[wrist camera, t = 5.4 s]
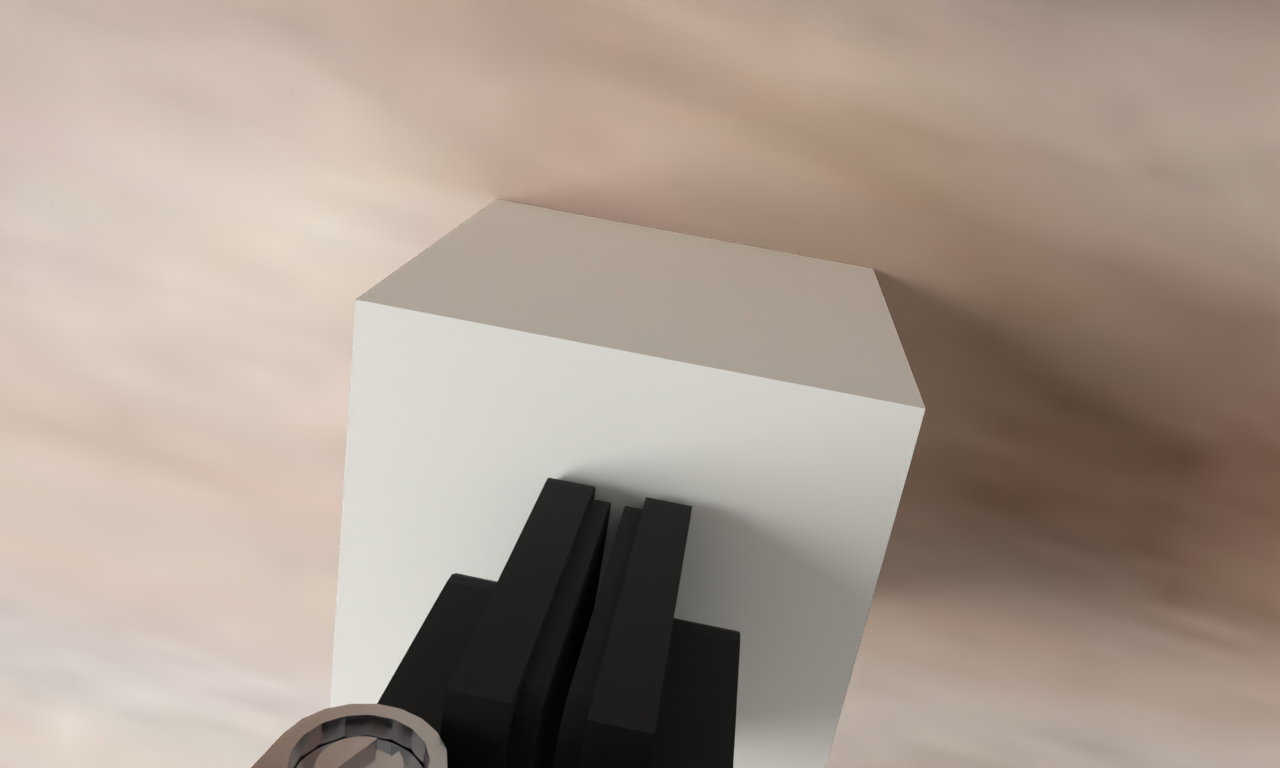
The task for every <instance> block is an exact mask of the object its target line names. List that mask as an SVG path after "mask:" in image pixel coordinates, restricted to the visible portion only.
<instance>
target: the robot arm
mask: <svg viewBox="0 0 1280 768" xmlns="http://www.w3.org/2000/svg"><path fill="white" fill-rule="evenodd" d="M594 498H595V487H594V486H589V485H584V484H579V483H574V482H569V481H563V480H558V479H553V478H548V479H547V480H546V482H545V484H544V486H543V489H542V491H541V493H540V495H539V497H538V499H537V501H536V503H535V505H534V507H533V509H532V511H531V513H530V515H529V517H528V519H527V522H526V524H525V526H524V528H523V530H522V532H521V534H520V536H519V538H518V540H517V542H516V544H515V546H514V548H513V550H512V553H511V555H510V557H509V559H508V561H507V563H506V565H505V567H504V569H503V571H502V573H501V575H500V577H499V579H498V581H492V580H487V579H482V578H477V577H473V576H468V575H463V574H458V573H455V574H452V575H451V577H450V578H449V579H448V581H447V582H446V584H445V586H444V587H443V589H442V591H441V593H440V594H439V596H438V598H437V600H436V601H435V603H434V605H433V607H432V608H431V610H430V612H429V614H428V615H427V617H426V619H425V621H424V622H423V624H422V626H421V628H420V629H419V631H418V633H417V635H416V636H415V638H414V640H413V642H412V643H411V645H410V647H409V649H408V650H407V652H406V654H405V656H404V657H403V659H402V661H401V663H400V664H399V666H398V668H397V670H396V671H395V673H394V675H393V677H392V678H391V680H390V682H389V684H388V685H387V687H386V689H385V691H384V692H383V694H382V696H381V698H380V699H379V701H378V703H377V704H347V705H342V706H337V707H332V708H328V709H324V710H322V711H319V712H317V713H315V714H313V715H310V716H308V717H306V718H303V719H301V720H300V721H299V722H298V723H296V724H295V725H294V726H292V727H291V728H290V729H289V730H287V731H286V732H285V733H284V734H283V735H282V736H281V737H280V738H279V739H278V740H277V741H276V742H275V743H274V744H273V745H272V746H271V747H270V748H269V749H268V750H267V751H266V753H265V754H264V755H263V756H262V757H261V758H260V759H259V760H258V761H257V762H256V763H255V764H254V765H253V766H252V767H251V768H733V762H734V744H735V726H736V709H737V691H738V673H739V655H740V632H739V631H735V630H730V629H725V628H720V627H715V626H710V625H705V624H701V623H696V622H691V621H686V620H681V619H676V618H674V614H675V608H676V602H677V596H678V590H679V584H680V578H681V572H682V566H683V560H684V554H685V548H686V542H687V536H688V530H689V524H690V518H691V512H692V506H689V505H684V504H679V503H674V502H669V501H664V500H659V499H654V498H648V497H646V498H645V502H644V506H643V509H640V508H635V507H630V506H625V507H624V510H623V514H622V517H621V520H620V523H619V527H618V530H617V533H616V537H615V540H614V543H613V547H612V550H611V553H610V557H609V560H608V563H607V567H606V570H605V573H604V576H603V580H602V583H601V586H600V590H599V593H598V596H597V600H596V594H597V588H598V582H599V576H600V570H601V564H602V558H603V552H604V546H605V540H606V534H607V528H608V522H609V516H610V509H611V503H610V502H605V501H600V500H595V499H594ZM595 600H596V603H595Z"/></svg>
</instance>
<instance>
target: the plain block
mask: <svg viewBox="0 0 1280 768" xmlns="http://www.w3.org/2000/svg"><path fill="white" fill-rule="evenodd" d="M925 409H926V408H925V406H924V403H923V400H922V398H921V395H920V392H919V390H918V387H917V384H916V382H915V379H914V376H913V374H912V371H911V368H910V366H909V363H908V360H907V358H906V355H905V352H904V350H903V347H902V344H901V342H900V339H899V336H898V334H897V331H896V328H895V326H894V323H893V320H892V318H891V315H890V312H889V310H888V307H887V304H886V302H885V299H884V296H883V294H882V291H881V288H880V286H879V283H878V280H877V278H876V275H875V272H874V270H873V269H872V268H867V267H861V266H856V265H851V264H845V263H840V262H834V261H829V260H823V259H818V258H813V257H807V256H802V255H796V254H791V253H786V252H780V251H775V250H769V249H764V248H759V247H753V246H748V245H742V244H737V243H731V242H726V241H721V240H715V239H710V238H704V237H699V236H694V235H688V234H683V233H677V232H672V231H666V230H661V229H656V228H650V227H645V226H639V225H634V224H629V223H623V222H618V221H612V220H607V219H602V218H596V217H591V216H585V215H580V214H574V213H569V212H564V211H558V210H553V209H547V208H542V207H537V206H531V205H526V204H520V203H515V202H509V201H504V200H499V199H496V200H494V201H493V202H491V203H490V204H489V205H487V206H486V207H484V208H483V209H482V210H480V211H479V212H477V213H476V214H475V215H473V216H472V217H470V218H469V219H468V220H466V221H465V222H463V223H462V224H461V225H459V226H458V227H456V228H455V229H454V230H452V231H451V232H449V233H448V234H447V235H445V236H444V237H442V238H441V239H440V240H438V241H437V242H435V243H434V244H433V245H431V246H430V247H428V248H427V249H426V250H424V251H423V252H421V253H420V254H419V255H417V256H416V257H414V258H413V259H412V260H410V261H409V262H407V263H406V264H405V265H403V266H402V267H400V268H399V269H398V270H396V271H395V272H393V273H392V274H391V275H389V276H388V277H386V278H385V279H384V280H382V281H381V282H379V283H378V284H377V285H375V286H374V287H372V288H371V289H370V290H368V291H367V292H365V293H364V294H363V295H361V296H360V297H359V298H357V299H356V303H355V318H354V334H353V350H352V365H351V381H350V396H349V412H348V428H347V443H346V459H345V475H344V490H343V506H342V521H341V537H340V553H339V568H338V584H337V600H336V615H335V631H334V646H333V662H332V678H331V693H330V708H332V707H337V706H342V705H347V704H377V703H378V701H379V699H380V698H381V696H382V694H383V692H384V691H385V689H386V687H387V685H388V684H389V682H390V680H391V678H392V677H393V675H394V673H395V671H396V670H397V668H398V666H399V664H400V663H401V661H402V659H403V657H404V656H405V654H406V652H407V650H408V649H409V647H410V645H411V643H412V642H413V640H414V638H415V636H416V635H417V633H418V631H419V629H420V628H421V626H422V624H423V622H424V621H425V619H426V617H427V615H428V614H429V612H430V610H431V608H432V607H433V605H434V603H435V601H436V600H437V598H438V596H439V594H440V593H441V591H442V589H443V587H444V586H445V584H446V582H447V581H448V579H449V578H450V577H451V575H452V574H455V573H458V574H463V575H468V576H473V577H477V578H482V579H487V580H492V581H498V579H499V577H500V575H501V573H502V571H503V569H504V567H505V565H506V563H507V561H508V559H509V557H510V555H511V553H512V550H513V548H514V546H515V544H516V542H517V540H518V538H519V536H520V534H521V532H522V530H523V528H524V526H525V524H526V522H527V519H528V517H529V515H530V513H531V511H532V509H533V507H534V505H535V503H536V501H537V499H538V497H539V495H540V493H541V491H542V489H543V486H544V484H545V482H546V480H547V479H548V478H553V479H558V480H563V481H569V482H574V483H579V484H584V485H589V486H594V487H595V498H594V499H595V500H600V501H605V502H610V503H611V509H610V516H609V522H608V528H607V534H606V540H605V546H604V552H603V558H602V564H601V570H600V576H599V582H598V588H597V594H596V600H597V596H598V593H599V590H600V586H601V583H602V580H603V576H604V573H605V570H606V567H607V563H608V560H609V557H610V553H611V550H612V547H613V543H614V540H615V537H616V533H617V530H618V527H619V523H620V520H621V517H622V514H623V510H624V507H625V506H630V507H635V508H640V509H643V506H644V502H645V498H646V497H648V498H654V499H659V500H664V501H669V502H674V503H679V504H684V505H689V506H692V512H691V518H690V524H689V530H688V536H687V542H686V548H685V554H684V560H683V566H682V572H681V578H680V584H679V590H678V596H677V602H676V608H675V614H674V618H676V619H681V620H686V621H691V622H696V623H701V624H705V625H710V626H715V627H720V628H725V629H730V630H735V631H739V632H740V655H739V673H738V691H737V709H736V726H735V744H734V762H733V768H825V767H826V763H827V759H828V756H829V752H830V749H831V745H832V742H833V738H834V734H835V731H836V727H837V724H838V720H839V717H840V713H841V709H842V706H843V702H844V699H845V695H846V692H847V688H848V684H849V681H850V677H851V674H852V670H853V667H854V663H855V659H856V656H857V652H858V649H859V645H860V642H861V638H862V634H863V631H864V627H865V624H866V620H867V616H868V613H869V609H870V606H871V602H872V599H873V595H874V591H875V588H876V584H877V581H878V577H879V574H880V570H881V566H882V563H883V559H884V556H885V552H886V549H887V545H888V541H889V538H890V534H891V531H892V527H893V524H894V520H895V516H896V513H897V509H898V506H899V502H900V499H901V495H902V491H903V488H904V484H905V481H906V477H907V474H908V470H909V466H910V463H911V459H912V456H913V452H914V448H915V445H916V441H917V438H918V434H919V431H920V427H921V423H922V420H923V416H924V413H925ZM596 600H595V603H596Z"/></svg>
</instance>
